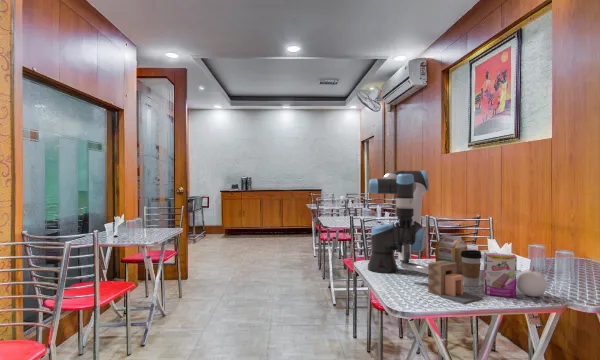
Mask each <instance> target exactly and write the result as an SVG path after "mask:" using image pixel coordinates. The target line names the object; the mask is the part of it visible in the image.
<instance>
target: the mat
mask: <svg viewBox="0 0 600 360" xmlns="http://www.w3.org/2000/svg"><path fill="white" fill-rule="evenodd" d="M439 297H440V298H443V299H446V300H450V301H453V302H456V303H459V304H462V305H465V304H468V303H473V302H477V301H480V300H483V297H482V296H478V295H476V294H472V293H468V292H464V291H463V295H460V294H456V296H455V297H453V296H450V295H447V294H444V295H440V296H439Z"/></svg>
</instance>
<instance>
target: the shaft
mask: <svg viewBox="0 0 600 360" xmlns="http://www.w3.org/2000/svg"><path fill="white" fill-rule="evenodd" d="M403 245H404V260H400V259H399V262H400V266H401V268H402V269H406V270H410V271H414V272H417V273H423V274H425V275H428V266H426V265H421V264H419V263H414V262H410V259H409V244H408V243H403Z"/></svg>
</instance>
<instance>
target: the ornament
mask: <svg viewBox="0 0 600 360" xmlns="http://www.w3.org/2000/svg"><path fill="white" fill-rule="evenodd" d="M547 285H548V284H547V280H546V278H545V276H544V274H543V273H540V272H539V271H537V270H536V269H535V266H534V265H531V266H530V269H524V270H522V271H520V272H519V273H518V274H517V275H516V288H517V290H518V291H519V292H521V293H522V294H523V295H525V296H528V297H532V298H533V297H534V298H535V297H540V296H542V295H544V293H545V292H547V291H546V290H547Z"/></svg>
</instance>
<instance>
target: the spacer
mask: <svg viewBox="0 0 600 360" xmlns="http://www.w3.org/2000/svg"><path fill="white" fill-rule="evenodd" d="M463 292H464V282H463V275H459V274H454V273H453V274H448V275H445V294H447V295H450V296H453V297H455V296H456V294H460V295H463Z"/></svg>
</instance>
